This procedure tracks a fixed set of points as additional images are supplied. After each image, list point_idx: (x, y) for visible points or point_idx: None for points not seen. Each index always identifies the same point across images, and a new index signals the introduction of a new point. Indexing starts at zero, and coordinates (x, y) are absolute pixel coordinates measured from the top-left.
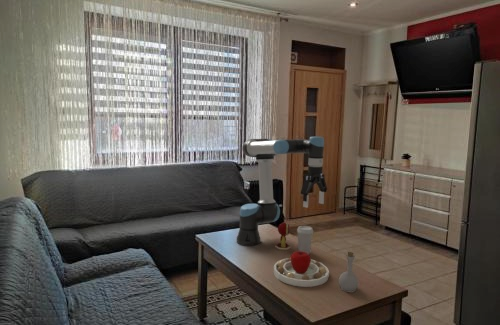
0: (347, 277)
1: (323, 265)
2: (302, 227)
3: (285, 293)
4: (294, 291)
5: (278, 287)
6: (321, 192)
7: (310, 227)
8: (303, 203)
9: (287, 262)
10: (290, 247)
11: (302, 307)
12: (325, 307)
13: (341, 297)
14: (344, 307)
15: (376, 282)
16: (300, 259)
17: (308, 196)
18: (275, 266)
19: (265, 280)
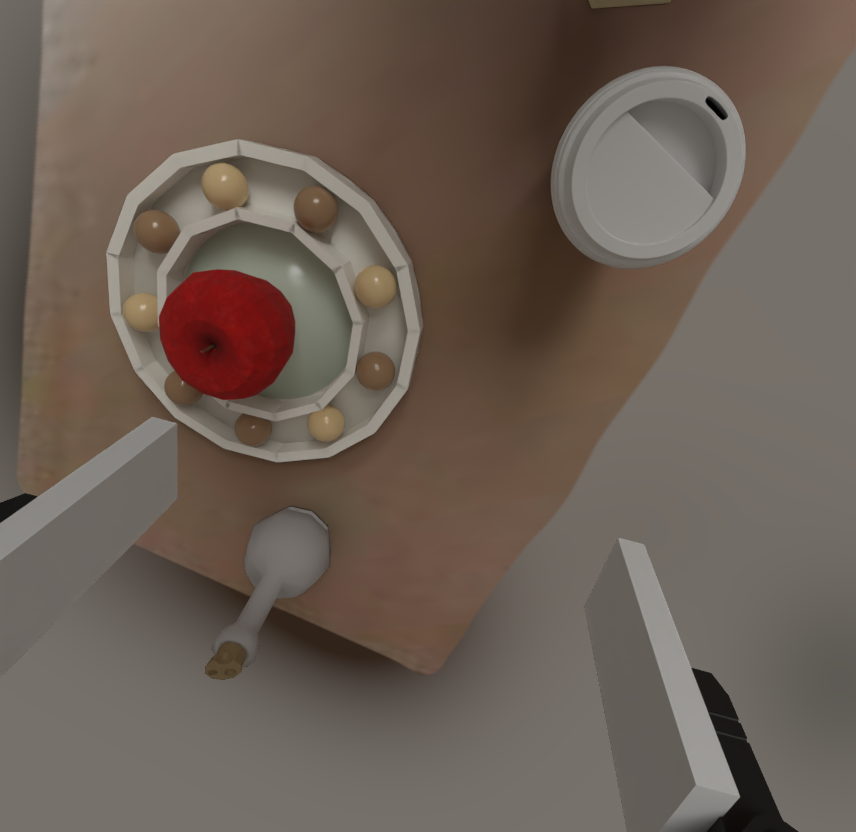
0: (246, 574)
1: (383, 409)
2: (701, 114)
3: (64, 341)
4: (109, 365)
5: (76, 287)
6: (654, 811)
7: (698, 223)
8: (108, 452)
9: (256, 218)
10: (658, 3)
11: (46, 439)
12: None
13: (218, 527)
14: (165, 549)
15: (432, 604)
16: (170, 364)
17: (9, 661)
18: (165, 175)
19: (71, 187)
